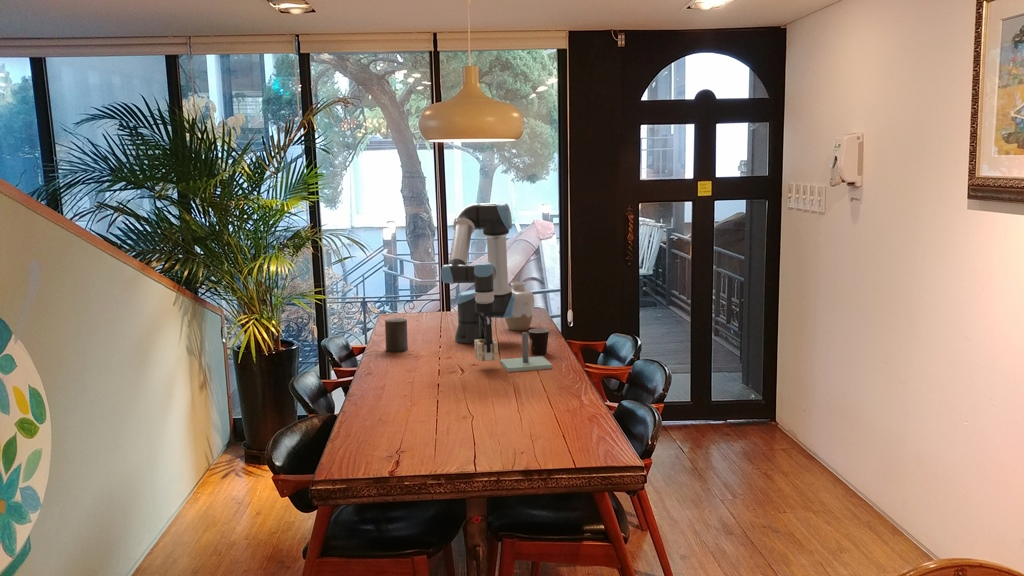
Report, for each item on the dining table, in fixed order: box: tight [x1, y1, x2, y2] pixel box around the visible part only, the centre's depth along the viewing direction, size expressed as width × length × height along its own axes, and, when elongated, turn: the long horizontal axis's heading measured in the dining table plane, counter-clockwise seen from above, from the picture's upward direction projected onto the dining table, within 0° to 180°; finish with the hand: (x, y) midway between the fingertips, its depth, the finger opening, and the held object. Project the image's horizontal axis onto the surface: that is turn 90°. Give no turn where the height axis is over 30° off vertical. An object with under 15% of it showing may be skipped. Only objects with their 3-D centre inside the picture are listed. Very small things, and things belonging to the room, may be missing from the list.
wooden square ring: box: [473, 337, 499, 362], centre depth 322 cm, size 8×8×7 cm
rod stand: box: [499, 331, 553, 373], centre depth 324 cm, size 15×18×14 cm
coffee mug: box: [528, 328, 550, 356], centre depth 346 cm, size 12×9×10 cm
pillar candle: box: [384, 316, 409, 353], centre depth 358 cm, size 10×10×15 cm
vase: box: [504, 281, 535, 332], centre depth 395 cm, size 16×16×23 cm
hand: (486, 357), depth 322 cm, fingers closed on wooden square ring, 8 cm apart
